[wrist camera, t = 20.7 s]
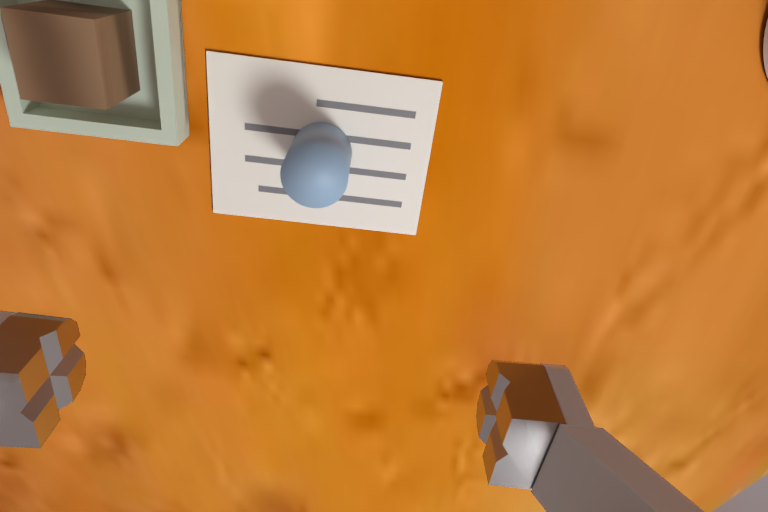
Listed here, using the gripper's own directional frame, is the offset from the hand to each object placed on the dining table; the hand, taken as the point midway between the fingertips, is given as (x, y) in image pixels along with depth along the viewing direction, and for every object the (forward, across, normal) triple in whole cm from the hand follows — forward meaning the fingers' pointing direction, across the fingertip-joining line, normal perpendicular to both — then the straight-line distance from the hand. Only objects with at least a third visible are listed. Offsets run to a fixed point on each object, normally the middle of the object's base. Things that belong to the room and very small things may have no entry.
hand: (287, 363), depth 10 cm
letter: (+29, +2, +6) cm, 30 cm away
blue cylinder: (+29, +2, +6) cm, 30 cm away
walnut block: (+28, +17, 0) cm, 33 cm away
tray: (+29, +17, 0) cm, 34 cm away
